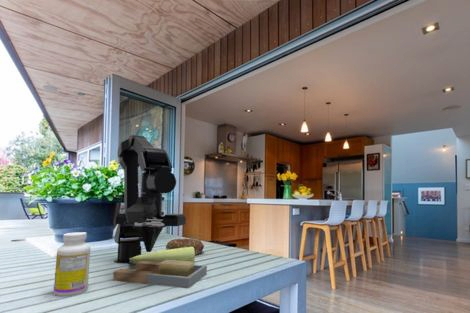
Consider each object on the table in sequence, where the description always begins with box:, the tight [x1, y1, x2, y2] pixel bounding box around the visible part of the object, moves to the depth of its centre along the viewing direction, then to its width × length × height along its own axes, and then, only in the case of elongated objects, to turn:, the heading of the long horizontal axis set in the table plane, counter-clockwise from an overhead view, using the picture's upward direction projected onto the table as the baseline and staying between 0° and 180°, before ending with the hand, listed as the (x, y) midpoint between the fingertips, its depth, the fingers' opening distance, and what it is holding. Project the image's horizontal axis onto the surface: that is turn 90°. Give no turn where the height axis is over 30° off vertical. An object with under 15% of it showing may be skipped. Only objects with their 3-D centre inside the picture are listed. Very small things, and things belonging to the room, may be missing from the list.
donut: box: [165, 237, 205, 256], centre depth 104 cm, size 14×14×5 cm
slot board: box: [112, 261, 160, 285], centre depth 75 cm, size 10×12×2 cm
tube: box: [129, 247, 196, 264], centre depth 87 cm, size 6×5×20 cm
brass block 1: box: [159, 260, 179, 275], centre depth 73 cm, size 4×4×4 cm
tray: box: [146, 264, 208, 289], centre depth 72 cm, size 11×12×2 cm
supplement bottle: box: [53, 231, 91, 297], centre depth 63 cm, size 7×7×13 cm
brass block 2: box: [173, 261, 195, 277], centre depth 72 cm, size 4×4×4 cm
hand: (148, 251), depth 75 cm, fingers closed
